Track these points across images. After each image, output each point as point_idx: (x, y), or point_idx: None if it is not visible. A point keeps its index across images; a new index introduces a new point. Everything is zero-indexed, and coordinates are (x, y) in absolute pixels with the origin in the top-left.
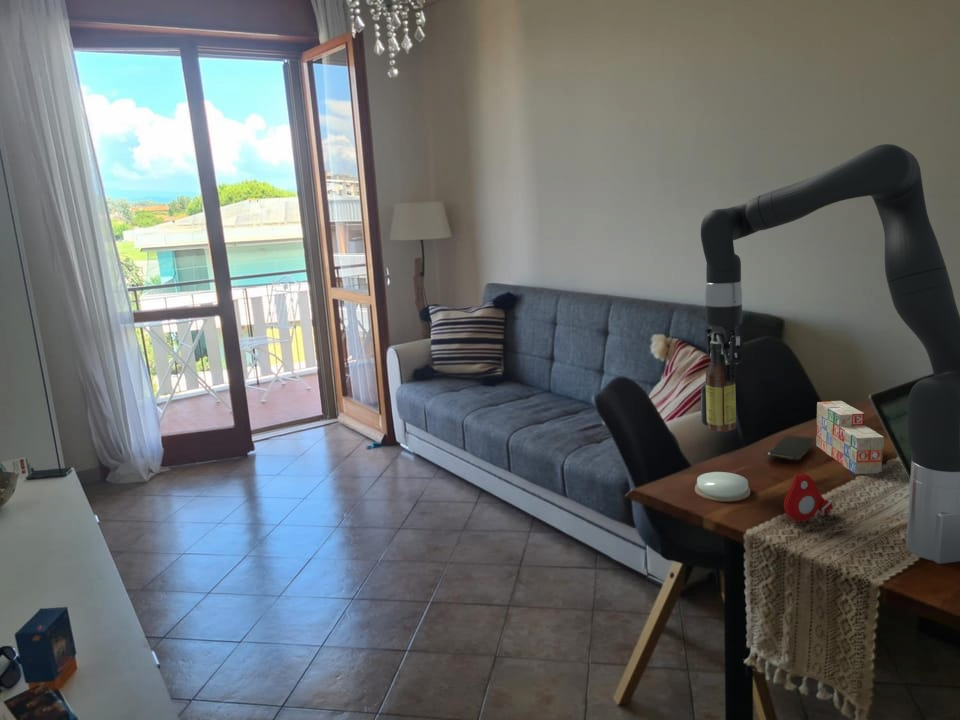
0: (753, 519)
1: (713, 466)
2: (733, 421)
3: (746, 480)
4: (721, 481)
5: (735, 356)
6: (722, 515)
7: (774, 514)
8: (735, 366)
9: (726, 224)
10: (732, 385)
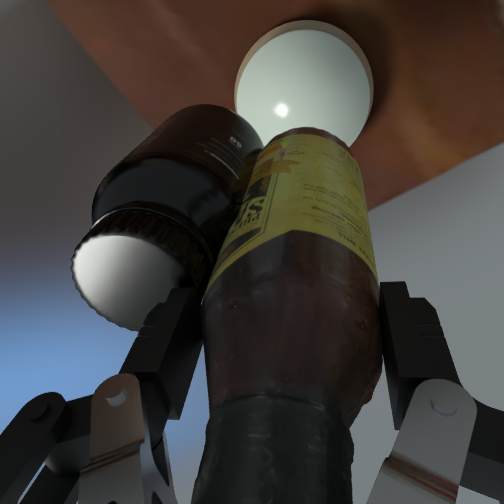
0: (492, 77)
1: (129, 65)
2: (354, 161)
3: (313, 34)
4: (306, 109)
5: (461, 467)
6: (441, 143)
7: (488, 5)
8: (458, 383)
9: None
10: (367, 264)
